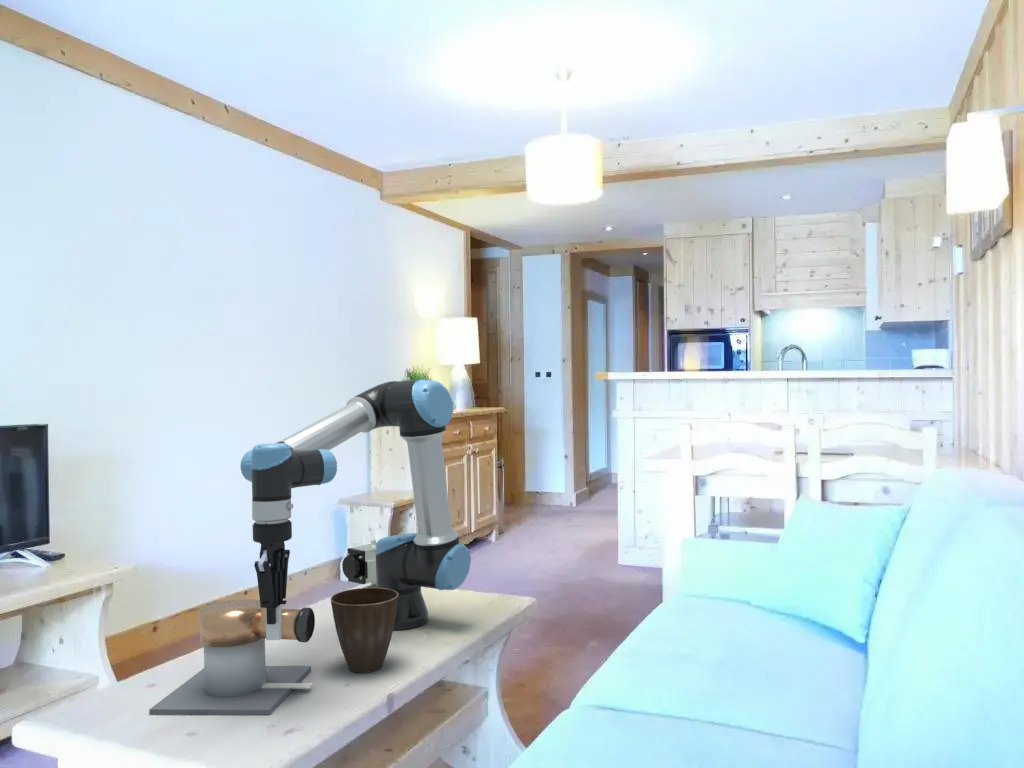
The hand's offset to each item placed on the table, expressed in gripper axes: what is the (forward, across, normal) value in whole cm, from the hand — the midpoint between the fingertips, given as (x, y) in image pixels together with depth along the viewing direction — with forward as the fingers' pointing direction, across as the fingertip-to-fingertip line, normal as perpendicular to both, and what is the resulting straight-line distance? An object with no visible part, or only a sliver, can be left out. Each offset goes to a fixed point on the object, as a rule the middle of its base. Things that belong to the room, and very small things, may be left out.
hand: (274, 638), depth 156 cm
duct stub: (+13, +6, +9) cm, 16 cm away
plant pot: (+13, +20, -13) cm, 27 cm away
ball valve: (+12, +76, -1) cm, 77 cm away
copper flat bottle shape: (+2, +5, +6) cm, 8 cm away
